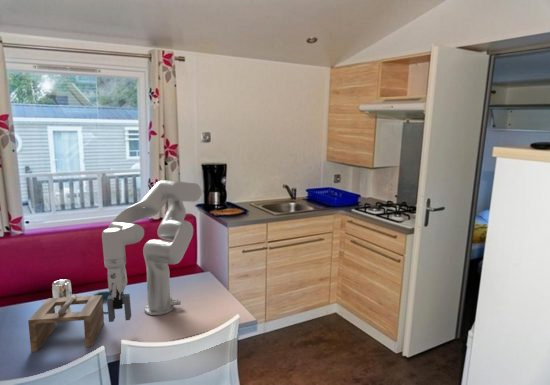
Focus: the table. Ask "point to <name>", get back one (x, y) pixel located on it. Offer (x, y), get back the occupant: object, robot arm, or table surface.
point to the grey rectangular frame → (124, 301)
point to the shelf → (66, 318)
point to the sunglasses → (103, 295)
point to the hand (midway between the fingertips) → (119, 305)
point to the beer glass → (62, 291)
